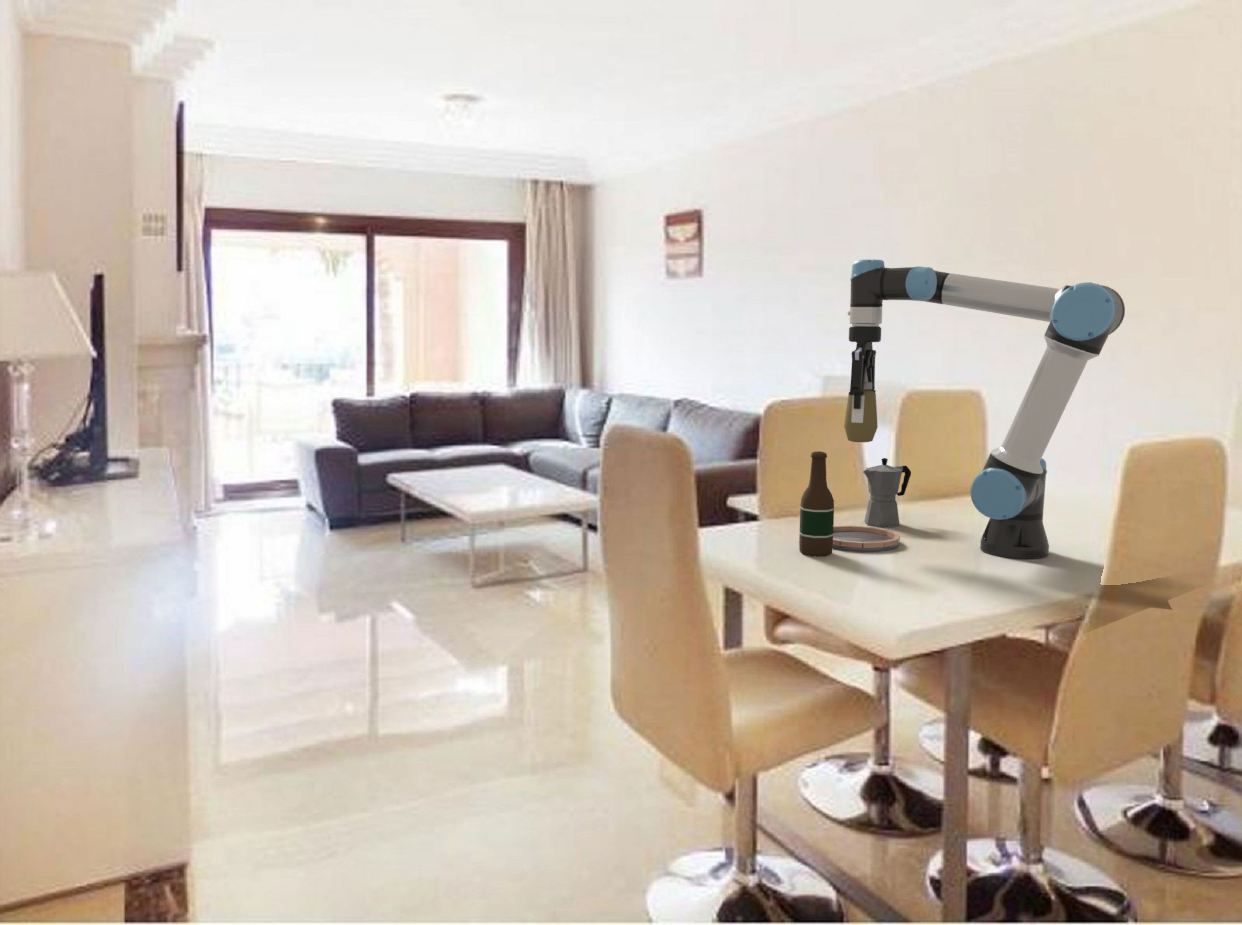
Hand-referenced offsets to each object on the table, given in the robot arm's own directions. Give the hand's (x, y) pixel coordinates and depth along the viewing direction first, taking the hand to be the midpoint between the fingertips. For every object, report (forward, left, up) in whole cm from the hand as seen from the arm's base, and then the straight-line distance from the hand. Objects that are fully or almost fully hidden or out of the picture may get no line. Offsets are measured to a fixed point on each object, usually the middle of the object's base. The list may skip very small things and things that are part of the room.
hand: (861, 421), depth 236 cm
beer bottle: (-1, +17, -30) cm, 35 cm away
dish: (0, 0, -30) cm, 30 cm away
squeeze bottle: (0, 0, -5) cm, 5 cm away
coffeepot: (+10, -25, -30) cm, 41 cm away
